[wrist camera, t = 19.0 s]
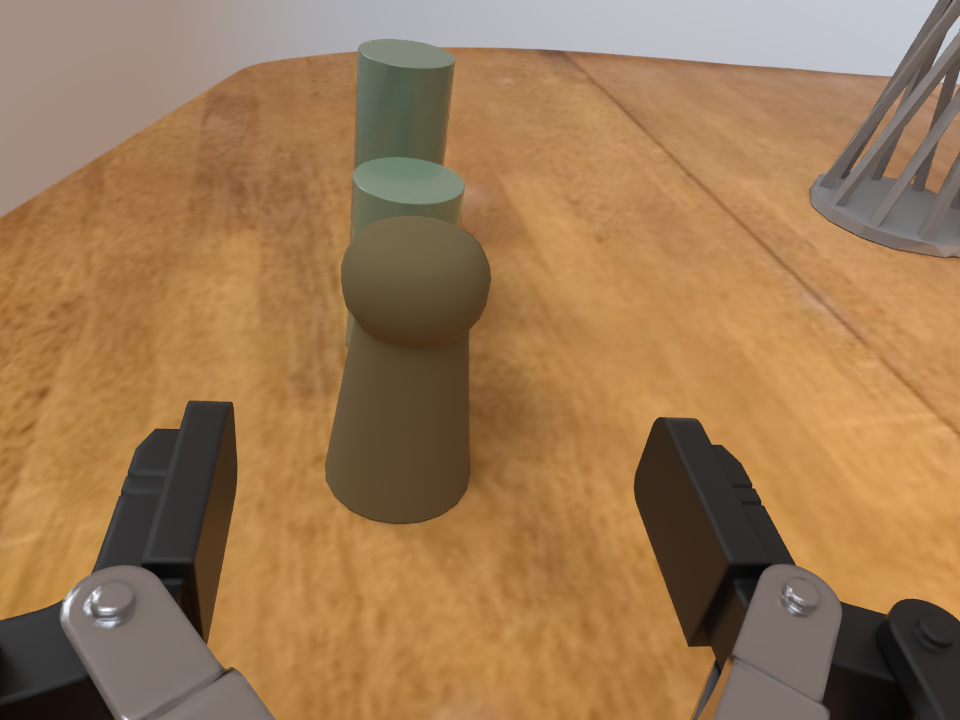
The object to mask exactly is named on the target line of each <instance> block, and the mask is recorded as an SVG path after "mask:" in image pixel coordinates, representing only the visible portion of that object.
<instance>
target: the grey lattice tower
mask: <svg viewBox="0 0 960 720" xmlns="http://www.w3.org/2000/svg"><path fill="white" fill-rule="evenodd" d="M959 15H960V0H939V1H938V2H937V4H936V5H935V7H934V9H933V11H932V12H931V14H930V16H929V17H928V19H927V20H926V22H925V24H924V25H923V27H922V29H921V30H920V32H919V34H918V35H917V37H916V38H915V40H914V42H913V44H912V45H911V47H910V49H909V50H908V52H907V53H906V55H905V57H904V58H903V60H902V62H901V63H900V65H899V67H898V68H897V70H896V72H895V73H894V75H893V76H892V78H891V80H890V81H889V83H888V85H887V86H886V88H885V90H884V91H883V93H882V95H881V96H880V98H879V99H878V101H877V103H876V104H875V106H874V108H873V109H872V111H871V113H870V114H869V116H868V117H867V119H866V120H865V122H864V123H863V124H862V126H861V127H860V128H859V130H858V131H857V132H856V134H855V135H854V137H853V138H852V139H851V141H850V142H849V143H848V145H847V146H846V147H845V149H844V150H843V152H842V153H841V154H840V156H839V157H838V158H837V160H836V161H835V162H834V164H833V165H832V167H831V168H830V169H829V171H828V172H827V173H826V174H821V175H819V176H818V178H817V179H816V181H815V182H814V184H813V185H812V187H811V188H810V195H811V205H812V206H813V207H814V208H815V209H816V210H818V211H819V212H820V213H821V214H822V215H823V216H824V217H826V218H827V219H828V220H829V221H831V222H833V223H835V224H836V225H838V226H840V227H842V228H844V229H846V230H848V231H850V232H852V233H854V234H855V235H857V236H859V237H862V238H865V239H868V240H870V241H873V242H876V243H879V244H882V245H885V246H887V247H890V248H893V249H898V250H904V251H910V252H915V253H921V254H927V255H932V256H938V257H944V258H946V257H949V256H953V257H960V152H959V154H958V156H957V158H956V160H955V162H954V163H953V165H952V167H951V169H950V171H949V173H948V175H947V177H946V179H945V181H944V183H943V185H942V187H941V189H940V191H939V193H938V194H936V193H934V192H932V191H930V190H927V189H925V188H924V187H925V184H926V180H927V177H928V174H929V170H930V167H931V164H932V160H933V157H934V154H935V150H936V147H937V144H938V141H939V139H940V137H941V136H942V135H943V133H944V132H945V130H946V129H947V127H948V126H949V124H950V123H951V121H952V120H953V118H954V117H955V115H956V114H957V113H958V111H959V110H960V88H959V89H958V91H957V92H956V94H955V95H954V97H953V98H952V94H953V91H954V88H955V84H956V81H957V78H958V74H959V71H960V30H959V32H958V34H957V35H956V36H955V38H954V39H953V40H952V42H951V43H950V44H949V46H948V47H947V48H946V50H945V51H944V52H943V53H942V55H941V56H940V57H939V59H938V60H937V61H936V63H935V64H934V65H933V67H932V64H933V62H934V60H935V58H936V55H937V53H938V51H939V49H940V47H941V44H942V42H943V40H944V38H945V36H946V33H947V31H948V30H949V28H950V27H951V26H952V25H953V23H954V22H955V21H956V19H957V18H958V17H959ZM931 67H932V68H931ZM945 75H946V77H945V80H944V83H943V87H942V90H941V93H940V97H939V100H938V103H937V107H936V110H935V113H934V117H933V120H932V123H931V127H930V130H929V133H928V135H927V137H926V138H925V139H924V141H923V142H922V144H921V145H920V147H919V148H918V150H917V151H916V153H915V154H914V156H913V157H912V159H911V160H910V162H909V163H908V165H907V166H906V167H905V169H904V170H903V172H902V173H901V175H900V176H899V178H898V179H892V178H888V177H883V176H882V175H883V173H884V171H885V169H886V166H887V164H888V162H889V160H890V157H891V155H892V153H893V151H894V149H895V146H896V144H897V142H898V140H899V138H900V135H901V133H902V131H903V129H904V127H905V126H906V125H907V123H908V122H909V121H910V120H911V118H912V117H913V116H914V114H915V113H916V112H917V111H918V109H919V108H920V107H921V105H922V104H923V103H924V102H925V100H926V99H927V98H928V96H929V95H930V94H931V93H932V91H933V90H934V89H935V87H936V86H937V85H938V84H939V82H940V81H941V80H942V78H943V77H944V76H945ZM907 84H908V85H907ZM906 85H907V88H906V90H905V92H904V95H903V97H902V99H901V102H900V104H899V106H898V109H897V111H896V113H895V115H894V117H893V119H892V120H891V121H890V123H889V124H888V125H887V127H886V128H885V129H884V130H883V132H882V133H881V134H880V136H879V137H878V138H877V140H876V141H875V142H874V143H873V145H872V146H871V147H870V149H869V150H868V151H867V153H866V154H865V155H864V157H863V158H862V159H861V160H860V162H859V163H858V164H857V166H856V167H855V168H854V170H853V171H852V172H850V170H851V168H852V167H853V165H854V164H855V162H856V160H857V159H858V157H859V156H860V154H861V152H862V151H863V149H864V147H865V146H866V144H867V143H868V141H869V139H870V138H871V136H872V134H873V133H874V131H875V130H876V128H877V126H878V125H879V123H880V122H881V120H882V118H883V117H884V115H885V113H886V112H887V111H888V109H889V108H890V107H891V105H892V104H893V103H894V101H895V100H896V99H897V97H898V96H899V95H900V93H901V92H902V91H903V89H904V88H905V87H906ZM951 98H952V100H951ZM869 172H870V173H869ZM868 173H869V174H868ZM915 174H916V177H915V180H914V183H913V185H912V184H909V183H910V181H911V180H912V178H913V177H914V176H915Z"/></svg>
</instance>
